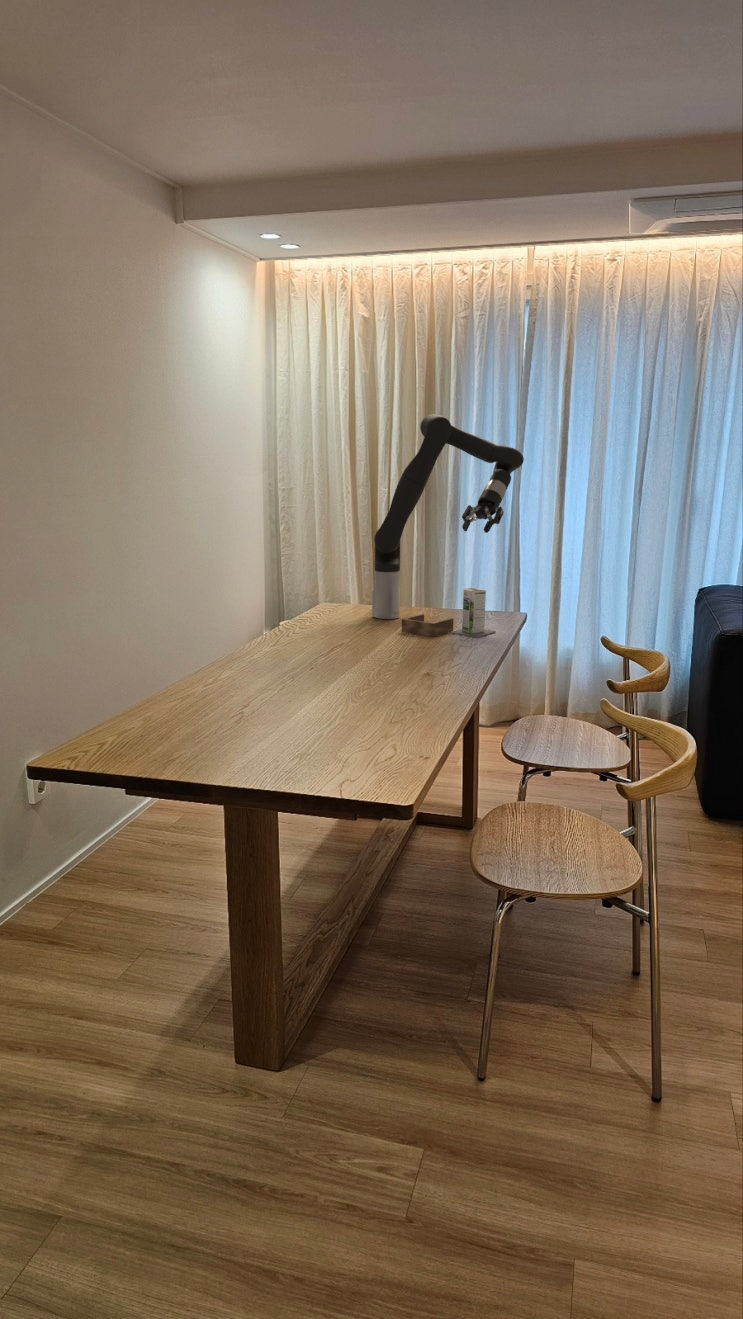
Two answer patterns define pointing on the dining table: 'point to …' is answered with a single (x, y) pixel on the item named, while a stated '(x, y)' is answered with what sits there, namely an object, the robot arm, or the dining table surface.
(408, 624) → the walnut cubby
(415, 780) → the dining table surface
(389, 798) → the dining table surface
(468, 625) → the syrup box
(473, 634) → the grey mat
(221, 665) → the dining table surface
